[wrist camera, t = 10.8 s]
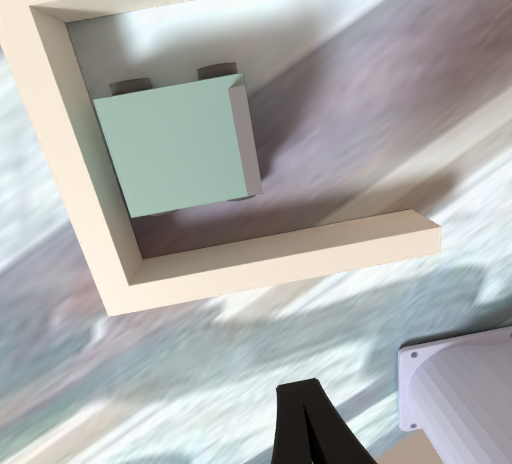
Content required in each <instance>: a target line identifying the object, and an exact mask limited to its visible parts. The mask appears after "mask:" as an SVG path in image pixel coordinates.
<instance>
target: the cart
mask: <svg viewBox="0 0 512 464" xmlns="http://www.w3.org/2000/svg"><path fill="white" fill-rule="evenodd" d="M197 73H198V77H199V81H195V82H189V83H184V84H178V85H173V86H167V87H162V88H156V89H152V85H151V82H150V79H149V78H143V79H134V80H127V81H122V82H117V83H113V84H110V85H109V86H110V89H111V92H112V95H113V96H112V97H106V98H100V99H95V100H93V102H94V105H95V108H96V111H97V114H98V117H99V120H100V124H101V127H102V130H103V133H104V136H105V139H106V142H107V145H108V148H109V151H110V154H111V157H112V160H113V163H114V166H115V169H116V173H117V176H118V179H119V182H120V185H121V188H122V191H123V194H124V197H125V200H126V203H127V206H128V209H129V212H130V215H131V218H134V217H139V216H144V215H151V216H160V215H165V214H169V213H172V212H175V211H177V210H179V209H182V208H187V207H193V206H198V205H203V204H209V203H214V202H219V201H225V200H226V201H240V200H245V199H249V198H252V197H254V196H256V195H258V194H263V190H262V184H261V178H260V172H259V166H258V160H257V154H256V148H255V142H254V136H253V130H252V124H251V118H250V112H249V106H248V99H247V93H246V87H245V83H244V77H243V73H239V74H237V68H236V63H234V62H232V63H223V64H216V65H211V66H206V67H203V68H199V69H197Z"/></svg>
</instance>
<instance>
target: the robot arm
mask: <svg viewBox="0 0 512 464" xmlns="http://www.w3.org/2000/svg"><path fill="white" fill-rule="evenodd" d="M413 352H414V353H413ZM412 353H413V354H412ZM276 392H277V420H276V431H275V440H274V448H273V455H272V461H271V464H312V462H313V464H377V463H376V461H375V460H374V459H373V458H372V457H371V455H370V454H369V453H368V452H367V451H366V449H365V448H364V447H363V446H362V444H361V443H360V442H359V441H358V439H357V438H356V437H355V435H354V434H353V433H352V431H351V430H350V429H349V427H348V426H347V425H346V423H345V422H344V421H343V419H342V418H341V416H340V415H339V413H338V412H337V411H336V409H335V408H334V406H333V405H332V403H331V401H330V400H329V398H328V397H327V395H326V393H325V392H324V390H323V388H322V386H321V384H320V382H319V380H317V379H316V378H312V379H307V380H302V381H297V382H292V383H287V384H282V385H279V386H278V387H277V388H276ZM398 397H399V427H400V428H401V430H402V431H412V430H417V429H421V428H423V430H424V431H425V433H426V435H427V436H428V438H429V440H430V441H431V443H432V445H433V446H434V448H435V450H436V451H437V453H438V454H439V456H440V458H441V460H442V461H443V463H444V464H512V326H510V327H505V328H500V329H495V330H490V331H485V332H479V333H474V334H469V335H464V336H459V337H454V338H449V339H444V340H439V341H434V342H428V343H423V344H418V345H413V346H408V347H404V348H402V349H400V351H399V352H398Z"/></svg>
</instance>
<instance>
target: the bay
mask: <svg viewBox="0 0 512 464" xmlns="http://www.w3.org/2000/svg"><path fill="white" fill-rule="evenodd" d="M188 1H193V0H0V45H1V47H2V50H3V52H4V55H5V57H6V60H7V62H8V65H9V67H10V70H11V72H12V75H13V77H14V80H15V82H16V85H17V87H18V90H19V92H20V95H21V97H22V100H23V102H24V105H25V107H26V110H27V112H28V115H29V117H30V120H31V122H32V125H33V128H34V130H35V133H36V135H37V138H38V140H39V143H40V145H41V148H42V150H43V153H44V155H45V158H46V160H47V163H48V165H49V168H50V170H51V173H52V175H53V178H54V180H55V183H56V185H57V188H58V190H59V193H60V195H61V198H62V200H63V203H64V205H65V208H66V210H67V213H68V215H69V218H70V220H71V223H72V225H73V228H74V230H75V233H76V235H77V238H78V240H79V243H80V245H81V248H82V250H83V253H84V255H85V258H86V260H87V263H88V265H89V268H90V271H91V273H92V276H93V278H94V281H95V283H96V286H97V288H98V291H99V293H100V296H101V298H102V301H103V303H104V306H105V308H106V311H107V313H108V316H114V315H120V314H125V313H130V312H135V311H141V310H146V309H151V308H156V307H161V306H167V305H172V304H177V303H182V302H188V301H193V300H198V299H203V298H209V297H214V296H219V295H224V294H229V293H235V292H240V291H245V290H250V289H256V288H261V287H266V286H271V285H277V284H282V283H287V282H292V281H298V280H303V279H308V278H313V277H318V276H324V275H329V274H334V273H339V272H345V271H350V270H355V269H360V268H366V267H371V266H376V265H381V264H386V263H392V262H397V261H402V260H407V259H413V258H418V257H423V256H428V255H434V254H439V253H440V252H441V229H442V227H441V226H439V225H438V224H436V223H434V222H432V221H431V220H429V219H427V218H426V217H424V216H422V215H421V214H419V213H417V212H415V211H414V210H412V209H409V210H403V211H398V212H393V213H388V214H382V215H377V216H372V217H366V218H361V219H356V220H350V221H345V222H340V223H334V224H329V225H324V226H319V227H313V228H308V229H303V230H297V231H292V232H287V233H281V234H276V235H271V236H265V237H260V238H255V239H249V240H244V241H239V242H234V243H228V244H223V245H218V246H212V247H207V248H202V249H196V250H191V251H186V252H180V253H175V254H170V255H164V256H159V257H154V258H149V259H143V260H142V257H141V254H140V251H139V248H138V244H137V241H136V238H135V235H134V232H133V229H132V226H131V223H130V220H129V217H128V214H127V211H126V208H125V205H124V202H123V199H122V196H121V193H120V190H119V187H118V184H117V180H116V177H115V174H114V171H113V168H112V165H111V162H110V159H109V156H108V153H107V150H106V147H105V144H104V141H103V138H102V135H101V132H100V129H99V126H98V123H97V120H96V116H95V113H94V110H93V107H92V104H91V101H90V98H89V95H88V92H87V89H86V86H85V83H84V80H83V77H82V74H81V71H80V68H79V65H78V62H77V59H76V56H75V53H74V49H73V46H72V43H71V40H70V37H69V34H68V31H67V28H66V25H65V23H67V22H73V21H79V20H84V19H90V18H96V17H102V16H107V15H113V14H119V13H124V12H130V11H136V10H142V9H147V8H153V7H159V6H165V5H170V4H176V3H182V2H188Z"/></svg>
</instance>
